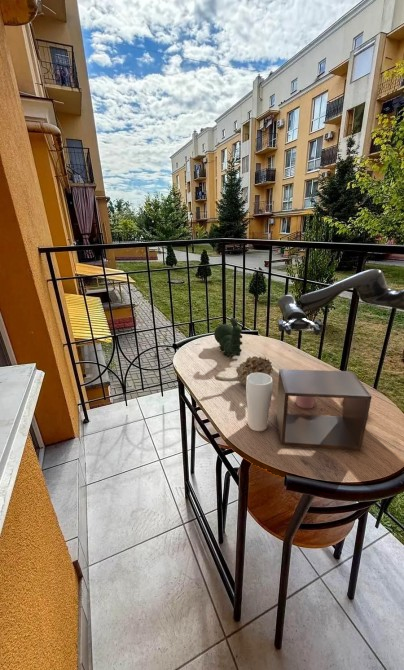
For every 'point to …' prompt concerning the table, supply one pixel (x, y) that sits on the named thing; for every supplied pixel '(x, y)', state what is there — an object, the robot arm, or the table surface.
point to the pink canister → (305, 401)
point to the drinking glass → (258, 400)
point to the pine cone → (250, 369)
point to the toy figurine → (229, 338)
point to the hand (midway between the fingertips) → (303, 332)
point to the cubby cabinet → (316, 427)
